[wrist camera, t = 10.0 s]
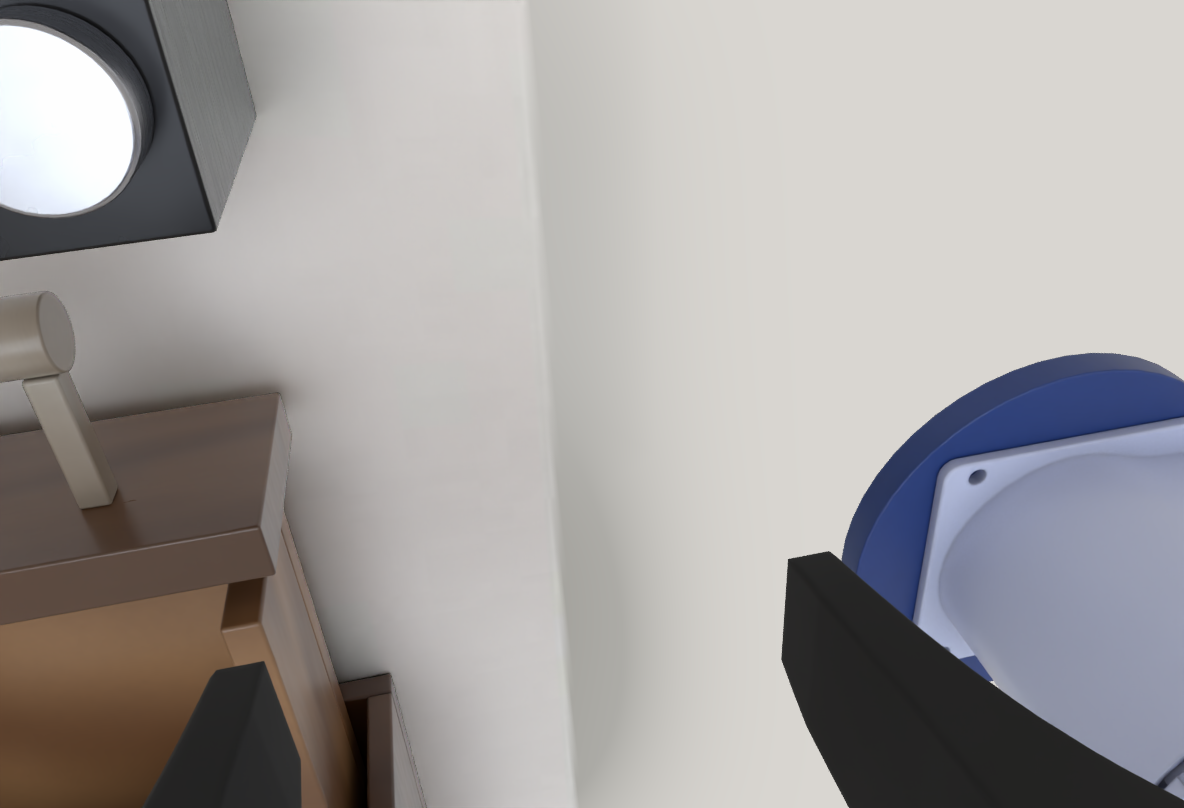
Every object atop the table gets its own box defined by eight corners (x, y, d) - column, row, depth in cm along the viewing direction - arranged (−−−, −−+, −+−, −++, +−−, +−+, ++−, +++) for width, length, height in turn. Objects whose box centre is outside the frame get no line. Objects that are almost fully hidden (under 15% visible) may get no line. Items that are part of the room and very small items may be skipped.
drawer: (-418, 293, 17) (-654, 439, 13) (227, 208, 18) (190, 317, 14) (-11, 856, 26) (-75, 1037, 22) (390, 771, 28) (394, 927, 24)
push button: (197, -116, 16) (103, -72, 10) (257, 118, 18) (207, 261, 13) (12, -99, 16) (-193, -44, 10) (96, 137, 18) (-33, 294, 12)
